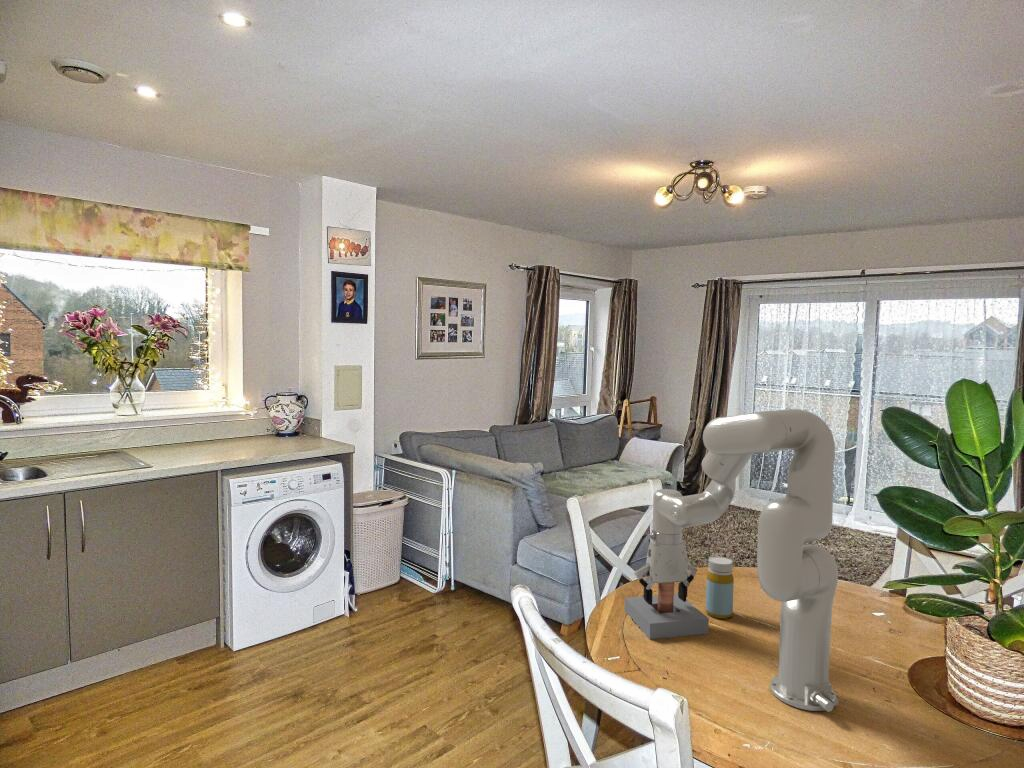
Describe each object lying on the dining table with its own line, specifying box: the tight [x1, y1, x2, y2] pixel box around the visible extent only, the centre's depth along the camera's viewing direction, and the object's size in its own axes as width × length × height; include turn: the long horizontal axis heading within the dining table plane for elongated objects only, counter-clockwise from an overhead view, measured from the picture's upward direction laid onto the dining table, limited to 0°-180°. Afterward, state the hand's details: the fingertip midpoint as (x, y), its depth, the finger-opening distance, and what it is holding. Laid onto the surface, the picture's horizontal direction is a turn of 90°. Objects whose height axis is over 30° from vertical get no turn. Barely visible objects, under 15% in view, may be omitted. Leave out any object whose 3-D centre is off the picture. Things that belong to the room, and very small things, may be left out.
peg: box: [657, 582, 675, 614], centre depth 162 cm, size 4×4×12 cm
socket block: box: [624, 593, 710, 640], centre depth 162 cm, size 16×16×4 cm
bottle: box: [705, 556, 735, 620], centre depth 168 cm, size 7×7×15 cm
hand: (665, 601), depth 162 cm, fingers open, 9 cm apart
